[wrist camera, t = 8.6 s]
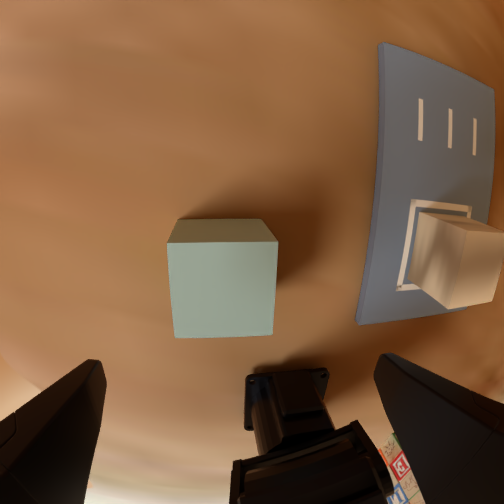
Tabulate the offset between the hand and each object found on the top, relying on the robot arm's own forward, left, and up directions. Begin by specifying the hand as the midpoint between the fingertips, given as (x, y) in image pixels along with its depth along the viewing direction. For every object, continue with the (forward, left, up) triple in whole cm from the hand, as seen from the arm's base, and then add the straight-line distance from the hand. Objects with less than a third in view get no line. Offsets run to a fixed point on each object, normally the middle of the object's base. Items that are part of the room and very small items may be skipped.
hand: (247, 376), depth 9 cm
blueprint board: (+5, -16, -11) cm, 20 cm away
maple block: (+1, -16, -10) cm, 19 cm away
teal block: (0, 0, -11) cm, 11 cm away
